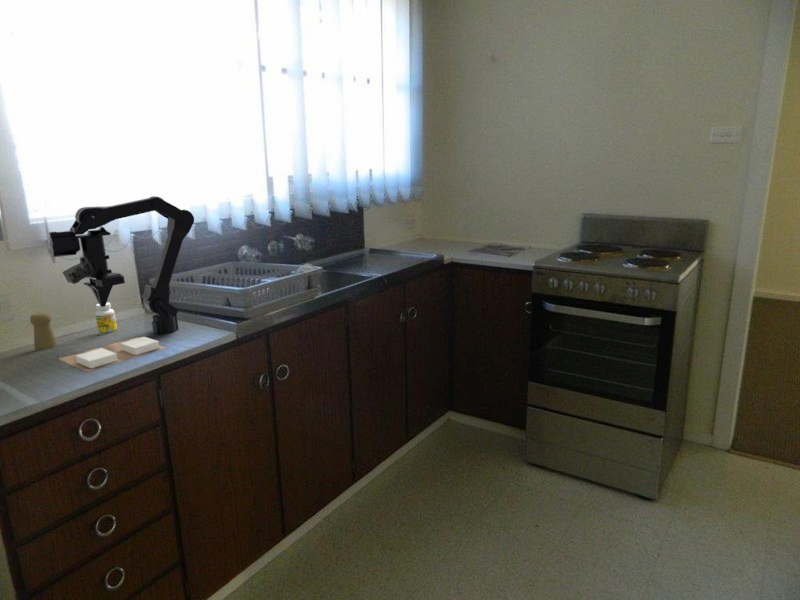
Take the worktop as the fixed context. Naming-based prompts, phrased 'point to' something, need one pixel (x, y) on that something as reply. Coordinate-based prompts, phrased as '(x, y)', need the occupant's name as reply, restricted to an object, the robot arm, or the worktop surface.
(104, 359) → the tile
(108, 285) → the robot arm
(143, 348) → the tile
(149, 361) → the worktop surface
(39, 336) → the cork
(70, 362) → the board
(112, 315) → the supplement bottle
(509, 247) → the worktop surface
